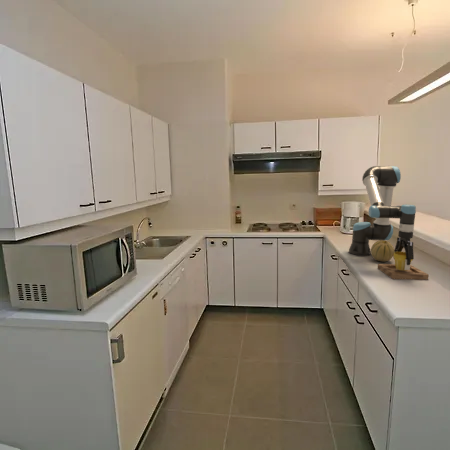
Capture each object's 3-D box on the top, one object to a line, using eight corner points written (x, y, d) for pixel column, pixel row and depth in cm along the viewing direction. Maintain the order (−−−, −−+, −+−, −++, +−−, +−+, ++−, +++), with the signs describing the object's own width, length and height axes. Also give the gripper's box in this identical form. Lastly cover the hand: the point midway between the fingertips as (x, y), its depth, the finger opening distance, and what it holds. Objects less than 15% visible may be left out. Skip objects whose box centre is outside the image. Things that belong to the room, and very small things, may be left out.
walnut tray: (377, 268, 204) (377, 264, 203) (409, 269, 203) (410, 264, 203) (392, 279, 184) (393, 274, 184) (428, 279, 184) (428, 274, 183)
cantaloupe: (381, 257, 230) (382, 237, 227) (398, 263, 216) (400, 241, 214) (364, 259, 224) (366, 238, 222) (381, 265, 211) (384, 243, 208)
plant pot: (400, 265, 200) (402, 250, 198) (415, 270, 190) (417, 254, 189) (388, 267, 196) (389, 252, 194) (403, 272, 187) (404, 256, 185)
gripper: (390, 227, 201) (387, 261, 204) (409, 234, 178) (405, 273, 182) (402, 227, 200) (399, 261, 204) (423, 234, 178) (419, 273, 182)
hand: (402, 267), depth 193 cm, fingers closed on plant pot, 10 cm apart
